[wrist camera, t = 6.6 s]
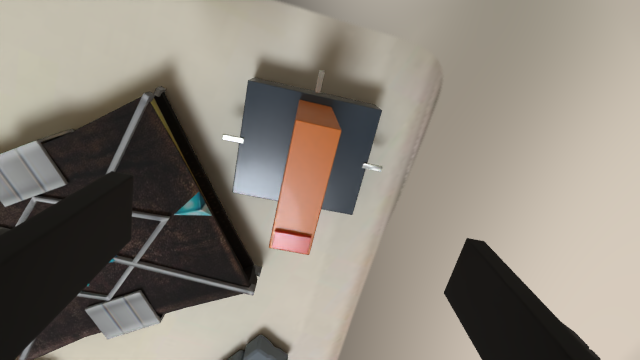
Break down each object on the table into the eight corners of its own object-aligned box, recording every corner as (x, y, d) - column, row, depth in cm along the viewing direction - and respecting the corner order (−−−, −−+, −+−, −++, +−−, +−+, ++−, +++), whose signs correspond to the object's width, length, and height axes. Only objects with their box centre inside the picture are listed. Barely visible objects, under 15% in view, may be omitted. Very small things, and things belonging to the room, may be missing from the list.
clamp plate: (396, 86, 24) (405, 90, 22) (356, 220, 28) (361, 237, 26) (241, 50, 23) (233, 49, 21) (222, 195, 27) (213, 210, 24)
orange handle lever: (299, 99, 22) (295, 120, 15) (331, 107, 22) (342, 131, 15) (279, 195, 24) (268, 250, 17) (308, 201, 24) (309, 257, 18)
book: (49, 337, 31) (4, 387, 27) (-86, 179, 26) (-174, 208, 21) (263, 268, 29) (255, 309, 25) (171, 81, 24) (137, 89, 19)
